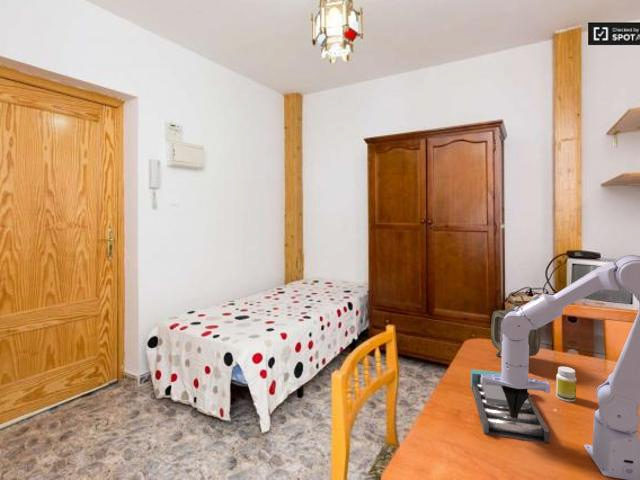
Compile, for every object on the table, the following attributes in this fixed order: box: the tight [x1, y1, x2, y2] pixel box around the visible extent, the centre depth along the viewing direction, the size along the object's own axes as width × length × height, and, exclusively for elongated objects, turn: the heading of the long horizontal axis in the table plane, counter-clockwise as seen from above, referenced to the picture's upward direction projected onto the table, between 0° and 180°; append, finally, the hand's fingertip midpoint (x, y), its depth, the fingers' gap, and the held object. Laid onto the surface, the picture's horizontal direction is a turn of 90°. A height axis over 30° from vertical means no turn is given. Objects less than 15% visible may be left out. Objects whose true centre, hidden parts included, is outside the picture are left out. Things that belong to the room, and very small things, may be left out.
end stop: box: [470, 368, 501, 389], centre depth 105 cm, size 4×14×5 cm, turn 73°
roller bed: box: [471, 381, 551, 444], centre depth 93 cm, size 22×14×3 cm, turn 163°
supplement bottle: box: [555, 366, 577, 402], centre depth 100 cm, size 5×5×8 cm
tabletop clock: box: [490, 291, 542, 357], centre depth 124 cm, size 14×9×25 cm, turn 10°
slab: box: [480, 377, 529, 409], centre depth 97 cm, size 12×10×1 cm
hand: (513, 416), depth 85 cm, fingers closed
